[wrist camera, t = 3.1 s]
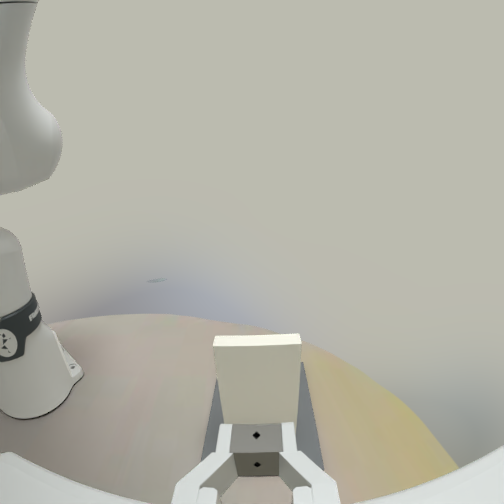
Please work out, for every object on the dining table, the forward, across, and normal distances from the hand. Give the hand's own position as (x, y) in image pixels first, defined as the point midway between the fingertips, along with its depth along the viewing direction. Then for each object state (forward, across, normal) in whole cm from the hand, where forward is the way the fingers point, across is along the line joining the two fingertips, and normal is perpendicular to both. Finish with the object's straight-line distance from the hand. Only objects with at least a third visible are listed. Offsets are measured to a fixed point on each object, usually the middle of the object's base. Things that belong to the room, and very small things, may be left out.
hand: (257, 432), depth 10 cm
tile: (+12, 0, +16) cm, 20 cm away
